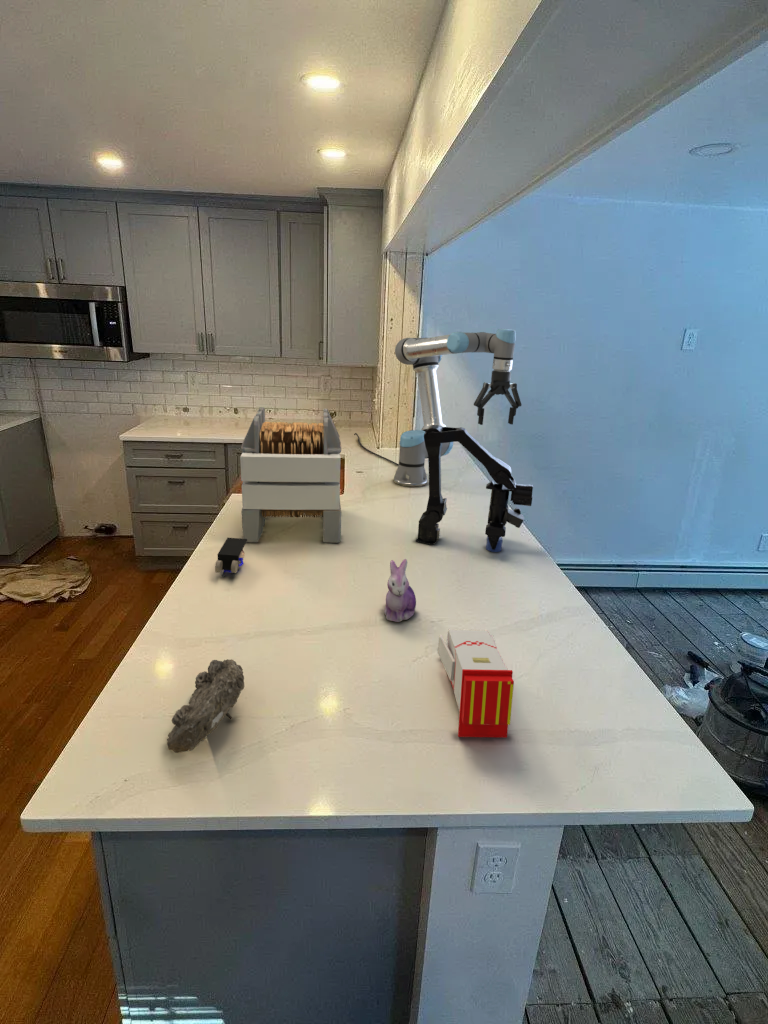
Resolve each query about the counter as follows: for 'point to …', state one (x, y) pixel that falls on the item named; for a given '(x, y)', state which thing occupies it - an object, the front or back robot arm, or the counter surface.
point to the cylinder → (498, 547)
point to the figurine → (399, 594)
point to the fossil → (206, 705)
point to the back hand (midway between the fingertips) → (495, 424)
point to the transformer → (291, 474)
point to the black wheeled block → (230, 556)
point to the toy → (478, 682)
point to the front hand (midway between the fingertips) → (493, 546)
